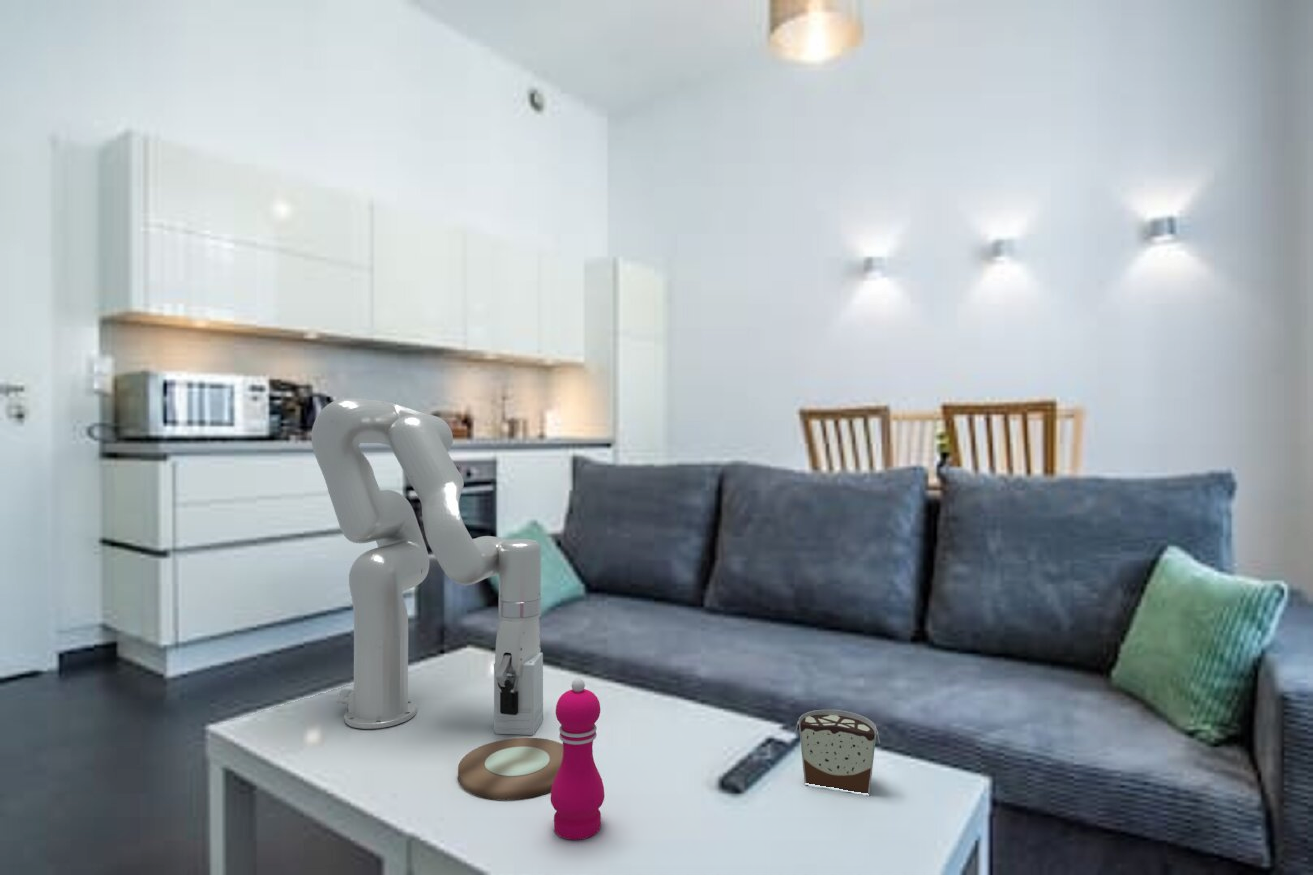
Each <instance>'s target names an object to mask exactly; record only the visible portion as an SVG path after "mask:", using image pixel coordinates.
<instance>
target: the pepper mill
mask: <svg viewBox="0 0 1313 875" xmlns="http://www.w3.org/2000/svg"><path fill="white" fill-rule="evenodd" d="M585 686H586V684H585V681H584V680H583V679H581V678H579V677H578V678H575V679H574V680H573V681H572V682H571V689H569V690H567V691H565V692H564V693H562V694H561V696H560V697H559V698H558V700H557V702H556V704H555V705H556V706H555V717H556V719H557V721H558V723H559V724H560V726H559V728H558V731H559V735H558V738H559V740H560V741H561V742H562V744H563V758H562V762H561V766H560V768H559V770H558V772H557V774H556V777H555V779H554V782H553V785H552V789H551V792H550V803H551V805H552V807H553V809H554V810H555V813H554V815H553V819H554V820H553V830H554V832H555V833H556V835H558V836H559V837H560V838H563V839H566V840H575V841H577V840H584V839H588V838H591V837H593V836H594V835H596V834H597V833H598V832H599V831H600V829H601V823H602V822H601V821H602V820H601V818H602V815H601V814H602V813H601V811H600V808H601V807H602V806H603V803H604V801H605V787H604V782H603V780H602V777H601V773H600V772H599V770H598V767H597V766H596V762H595V760H594V755H593V752H594V751H593V747H594V740H595V739H597V734H598V733H597V730H598V729H597V725H596V722H597V721H598V719H599V718H600V715H601V703H600V700H599V697H598V696H597V695H596V694H595V693H594V692H592V691H591V690H589V689H586V688H585Z"/></svg>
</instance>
